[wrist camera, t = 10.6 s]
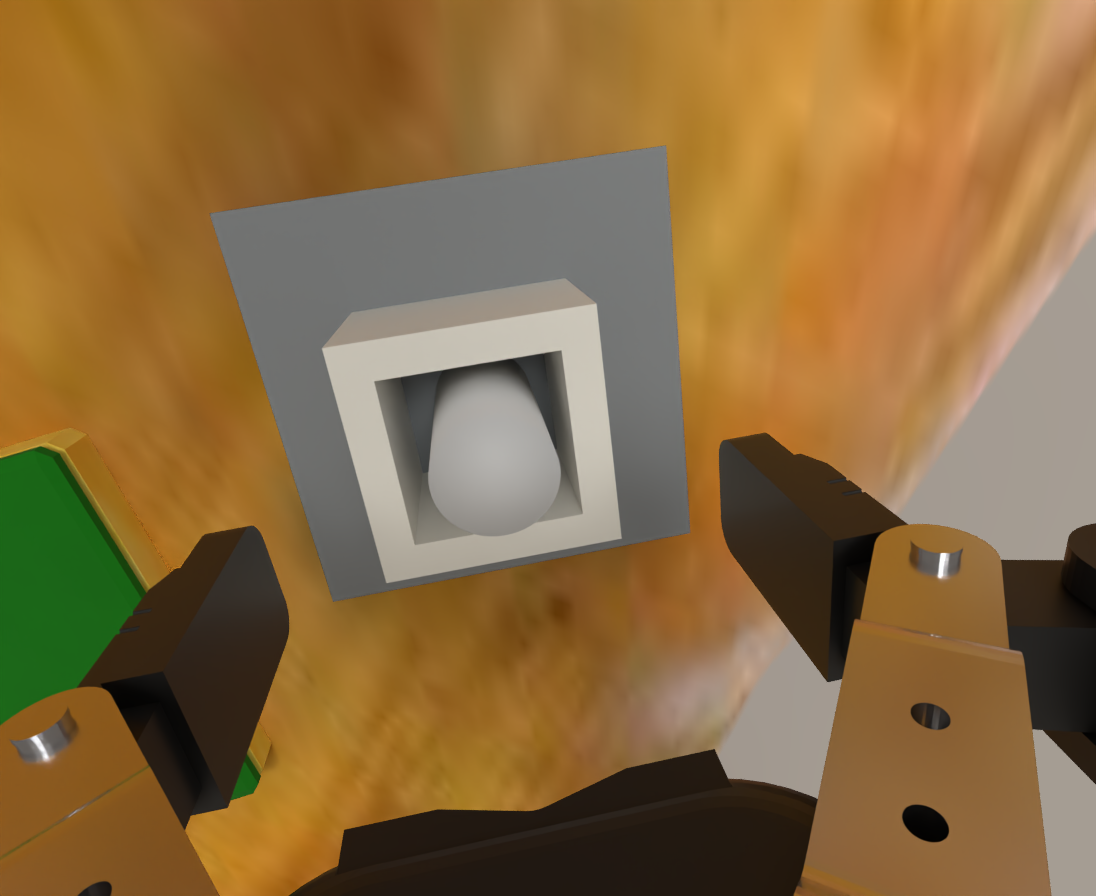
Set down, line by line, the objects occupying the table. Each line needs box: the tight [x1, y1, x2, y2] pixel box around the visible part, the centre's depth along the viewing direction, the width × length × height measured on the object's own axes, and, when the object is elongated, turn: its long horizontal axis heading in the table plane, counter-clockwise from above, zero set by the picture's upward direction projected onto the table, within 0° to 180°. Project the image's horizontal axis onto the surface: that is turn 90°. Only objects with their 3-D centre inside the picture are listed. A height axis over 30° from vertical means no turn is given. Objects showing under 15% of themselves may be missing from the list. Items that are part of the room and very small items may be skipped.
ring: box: [322, 278, 622, 583], centre depth 17 cm, size 6×6×4 cm
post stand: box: [210, 146, 690, 602], centre depth 17 cm, size 12×12×8 cm
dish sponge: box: [0, 428, 271, 800], centre depth 22 cm, size 7×14×2 cm, turn 15°
